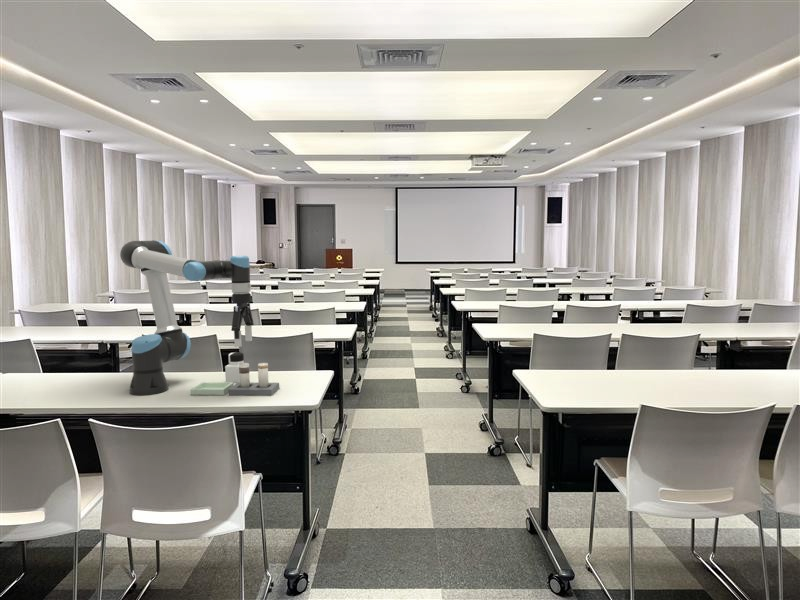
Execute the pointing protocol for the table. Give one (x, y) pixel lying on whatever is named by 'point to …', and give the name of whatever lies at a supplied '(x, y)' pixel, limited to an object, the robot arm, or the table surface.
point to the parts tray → (211, 388)
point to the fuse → (263, 375)
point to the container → (234, 367)
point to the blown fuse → (244, 375)
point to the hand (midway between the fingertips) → (243, 343)
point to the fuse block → (253, 390)
